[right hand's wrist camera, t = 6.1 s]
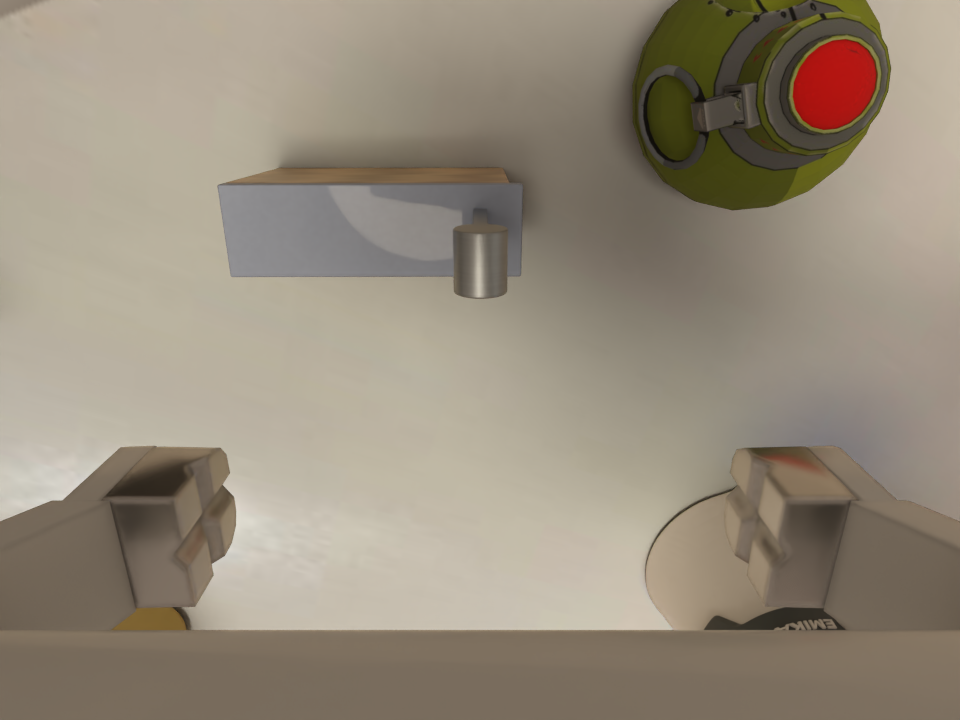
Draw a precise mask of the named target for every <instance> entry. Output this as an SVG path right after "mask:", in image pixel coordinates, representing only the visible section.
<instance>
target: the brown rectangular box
mask: <svg viewBox="0 0 960 720" xmlns="http://www.w3.org/2000/svg"><path fill="white" fill-rule="evenodd" d="M227 183H509V181H508V179H507V177H506V174H505V172H504V170H503V168H277V169H274V170H270V171H266V172H263V173H259V174H256V175H252V176H248V177H245V178H241V179H238V180H234V181H230V182H227Z"/></svg>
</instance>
